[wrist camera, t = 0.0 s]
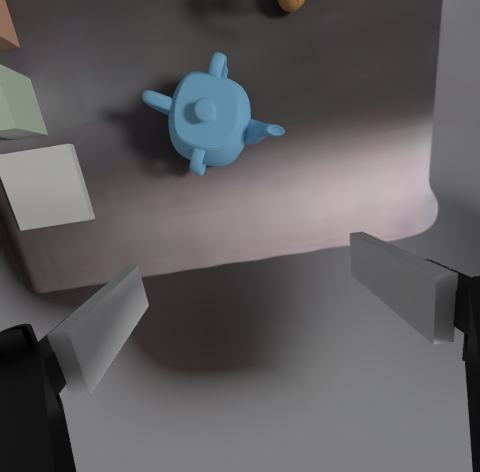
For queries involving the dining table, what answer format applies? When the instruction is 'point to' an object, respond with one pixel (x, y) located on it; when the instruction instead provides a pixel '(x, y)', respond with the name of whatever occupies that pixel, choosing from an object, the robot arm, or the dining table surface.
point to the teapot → (210, 117)
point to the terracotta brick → (7, 29)
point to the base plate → (45, 187)
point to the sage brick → (18, 107)
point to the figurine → (290, 4)
